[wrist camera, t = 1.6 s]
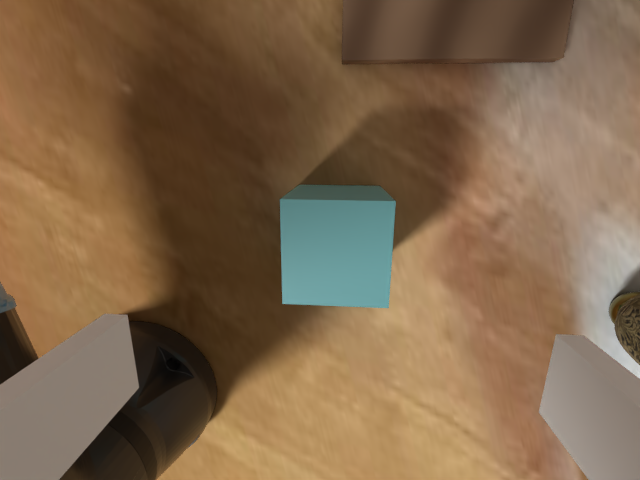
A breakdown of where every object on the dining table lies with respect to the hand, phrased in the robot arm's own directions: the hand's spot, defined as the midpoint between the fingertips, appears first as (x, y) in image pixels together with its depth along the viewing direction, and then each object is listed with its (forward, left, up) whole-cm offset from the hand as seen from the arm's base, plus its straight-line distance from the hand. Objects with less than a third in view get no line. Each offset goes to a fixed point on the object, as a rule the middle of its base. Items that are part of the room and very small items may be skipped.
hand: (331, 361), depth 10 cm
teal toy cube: (0, 0, -20) cm, 20 cm away
